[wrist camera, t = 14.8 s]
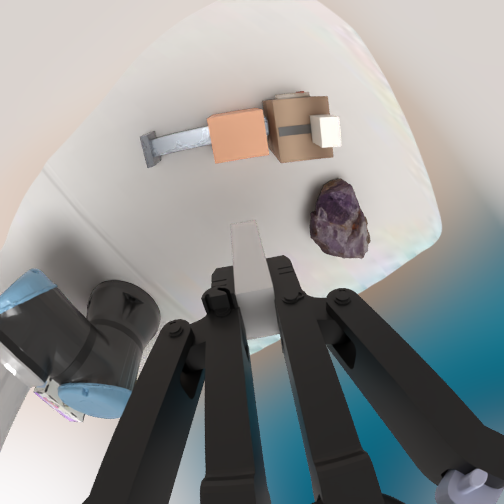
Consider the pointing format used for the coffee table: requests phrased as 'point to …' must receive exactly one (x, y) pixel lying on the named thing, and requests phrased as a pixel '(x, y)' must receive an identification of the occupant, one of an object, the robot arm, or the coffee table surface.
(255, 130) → the block
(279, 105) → the cabinet
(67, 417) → the candy box
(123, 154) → the coffee table surface
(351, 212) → the rock
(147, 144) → the rail
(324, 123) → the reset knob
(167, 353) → the robot arm
